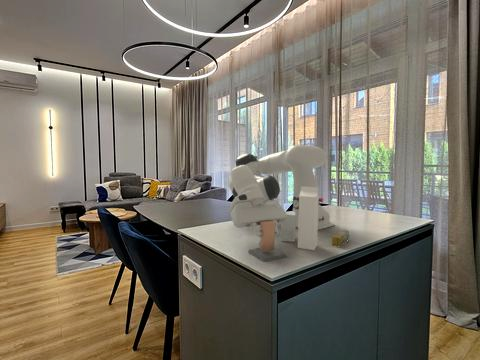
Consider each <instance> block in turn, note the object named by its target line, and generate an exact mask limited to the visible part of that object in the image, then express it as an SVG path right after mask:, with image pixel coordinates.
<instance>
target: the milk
mask: <svg viewBox="0 0 480 360" xmlns="http://www.w3.org/2000/svg"><path fill="white" fill-rule="evenodd" d="M319 198H320V195H319V189H318V188H317V187H301V192H300V195H299V218H298V228H297V249H302V250H310V251H315V250H316V248H317V246H318V233H319V232H318V231H319V230H318V204H319V203H320V202H319ZM319 205H320V204H319Z"/></svg>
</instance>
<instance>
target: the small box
mask: <svg viewBox="0 0 480 360" xmlns="http://www.w3.org/2000/svg"><path fill="white" fill-rule="evenodd" d="M284 211H285V210H284ZM285 212H286V214H287V218H286V219H285V221H284V222H282V223H280V242H290V243H291V242H292V243H294V242H296V227H295V225H296V214H295V212H292V211H285Z"/></svg>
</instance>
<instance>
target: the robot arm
mask: <svg viewBox="0 0 480 360" xmlns="http://www.w3.org/2000/svg"><path fill="white" fill-rule="evenodd" d="M258 158H259V156H255V155H253V154H252V153H242V154H241V155H239V156H238V157H237V158H236V159H235V167H234V168H232V169H231V170H230V175H229V177H228V181H227V184H228V188H229V190H230V191H231V193H232V196H233V200H232V201H231V203H230V206H229V211H230V216H231V221H232V223H233V226H235V228H237V229H242V228H249V227H250V230H251V231H253V232H254V233H255V234H256V236H257V238H260V237H262V236H263V232H262V230H260V227H259V228H258V226H260V221H267V220H271V221H274V222H275V235H278V234H279V233H280V231H279V229H278V224H281V223H282V222H284V221H285V219H286V218H287V214H286V212H287V211H286V212H285V209H284V208H283V207H282V204H280V203H279V201H277V200H275V199H277V198H278V197H279V195H280V192H281V188H280V187H281V186H280V184H279V182H278V180H277V178H276V177H275V176H272V175H279V174H284V173H288V172H291V173H292V176H293V177H292V178H293V197H292V206H293V207H292V211H291V212H295V214H296V225H295V228H297V229H298V218H299V195H300V192H301V187H317V188H318V185H319V184H318V183H319V182H318V179H317V178H316V177H315V173H314V169H317V168H319V167H322V166H324V164H325V163H326V161H327V153H326V151H325V150H324V149H323V148H321V147H319V146H315V145H308V144H307V145H306V144H295V145H292V146H290V147H288V148H287V150H283V151H282V150H281V151H278V152H273V153H271V154H268V155H265V156H263V157H261V158H259V159H258ZM320 203H324V197H319V204H318V231H319V230H323V229H326V228H330V227H333V226H335V222H333V221H330V219H331V218H330V213H329V211H327V210H326V209H325V208H324V207H323V206H322V205H321V204H320Z"/></svg>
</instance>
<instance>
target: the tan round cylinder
mask: <svg viewBox="0 0 480 360" xmlns="http://www.w3.org/2000/svg"><path fill="white" fill-rule="evenodd" d="M259 226H260V227H259V229H260V230H262V232H263V236H262V237H259V248H260V249H261V250H263V251H272V250H274V248H275V236H276V234H275V222H274V221H271V220H267V221H260V225H259Z"/></svg>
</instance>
